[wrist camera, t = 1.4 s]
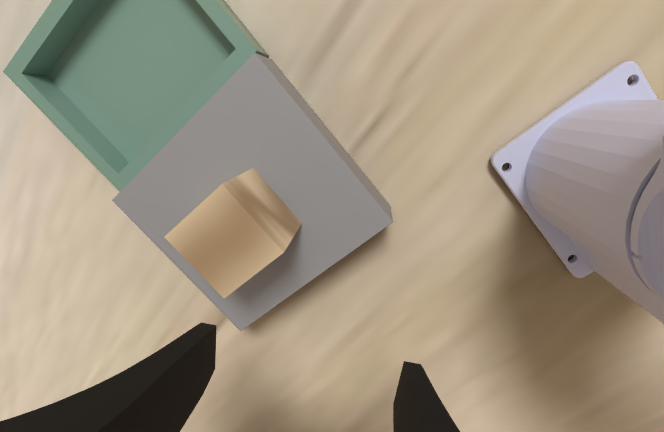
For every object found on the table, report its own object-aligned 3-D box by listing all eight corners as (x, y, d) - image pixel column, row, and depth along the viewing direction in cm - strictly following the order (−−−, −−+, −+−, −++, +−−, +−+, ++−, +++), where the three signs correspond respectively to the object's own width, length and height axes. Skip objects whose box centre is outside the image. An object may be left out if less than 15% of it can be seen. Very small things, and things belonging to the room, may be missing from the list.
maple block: (301, 223, 19) (284, 252, 15) (252, 262, 20) (223, 298, 17) (253, 167, 18) (221, 183, 15) (204, 211, 20) (164, 237, 16)
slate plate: (390, 206, 21) (392, 221, 18) (255, 305, 25) (240, 331, 22) (272, 60, 20) (254, 52, 17) (144, 188, 23) (112, 200, 20)
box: (268, 55, 19) (257, 50, 18) (141, 185, 23) (120, 192, 21) (153, -87, 18) (127, -110, 16) (35, 74, 21) (3, 71, 20)
